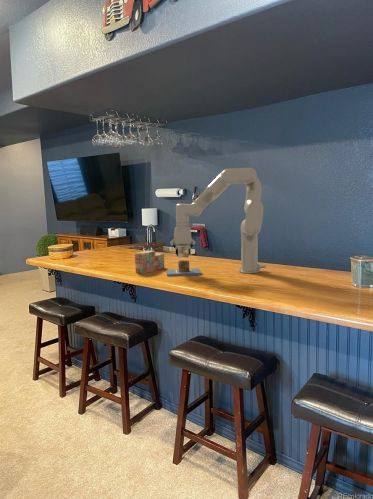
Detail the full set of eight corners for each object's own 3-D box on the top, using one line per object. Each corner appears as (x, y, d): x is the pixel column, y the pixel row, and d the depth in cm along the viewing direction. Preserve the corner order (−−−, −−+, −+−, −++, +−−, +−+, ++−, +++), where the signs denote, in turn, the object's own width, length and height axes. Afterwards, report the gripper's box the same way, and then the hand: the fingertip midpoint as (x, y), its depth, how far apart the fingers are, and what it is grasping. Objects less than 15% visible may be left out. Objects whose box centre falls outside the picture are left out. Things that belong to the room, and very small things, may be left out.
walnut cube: (188, 270, 225) (188, 260, 224) (189, 272, 219) (189, 261, 218) (178, 270, 224) (178, 260, 224) (179, 272, 218) (178, 262, 218)
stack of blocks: (156, 267, 244) (156, 248, 243) (164, 267, 241) (164, 249, 239) (135, 273, 227) (134, 252, 225) (143, 273, 223) (142, 253, 222)
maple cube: (187, 255, 224) (187, 245, 223) (188, 257, 218) (188, 247, 217) (177, 256, 223) (177, 246, 222) (178, 257, 217) (178, 247, 216)
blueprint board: (199, 270, 230) (198, 268, 229) (202, 274, 216) (202, 272, 216) (166, 271, 228) (166, 269, 228) (167, 276, 214) (167, 274, 214)
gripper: (196, 224, 222) (196, 254, 225) (167, 224, 221) (168, 255, 223) (198, 225, 215) (198, 256, 217) (168, 225, 213) (168, 256, 216)
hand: (183, 255), depth 220 cm, fingers closed on maple cube, 6 cm apart
